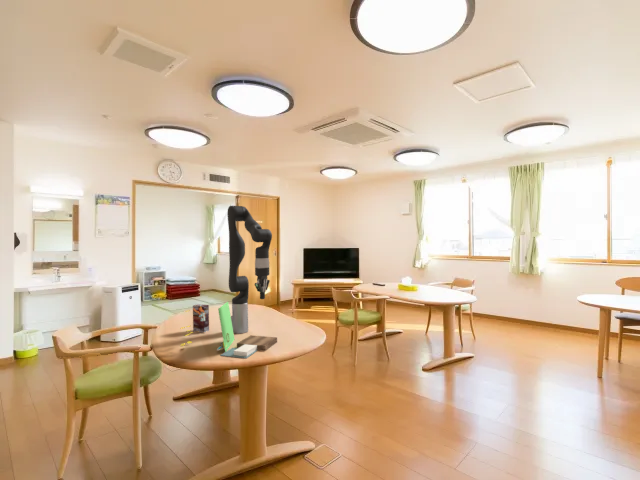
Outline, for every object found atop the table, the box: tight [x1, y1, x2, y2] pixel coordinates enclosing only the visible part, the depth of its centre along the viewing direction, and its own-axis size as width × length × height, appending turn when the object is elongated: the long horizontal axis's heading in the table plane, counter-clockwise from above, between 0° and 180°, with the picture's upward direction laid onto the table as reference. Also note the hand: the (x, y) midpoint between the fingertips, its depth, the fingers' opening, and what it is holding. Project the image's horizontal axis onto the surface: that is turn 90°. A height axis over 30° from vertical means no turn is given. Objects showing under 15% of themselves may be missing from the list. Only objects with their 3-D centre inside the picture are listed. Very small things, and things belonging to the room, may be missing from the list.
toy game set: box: [180, 301, 235, 353], centre depth 172 cm, size 22×25×24 cm
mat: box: [219, 347, 259, 359], centre depth 161 cm, size 14×11×1 cm
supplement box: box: [192, 303, 210, 333], centre depth 201 cm, size 9×5×16 cm, turn 68°
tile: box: [234, 344, 257, 356], centre depth 161 cm, size 7×10×2 cm
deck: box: [236, 334, 278, 352], centre depth 173 cm, size 16×14×2 cm
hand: (262, 298), depth 176 cm, fingers closed
